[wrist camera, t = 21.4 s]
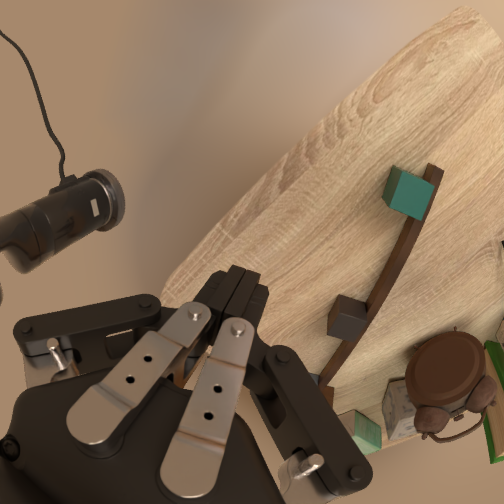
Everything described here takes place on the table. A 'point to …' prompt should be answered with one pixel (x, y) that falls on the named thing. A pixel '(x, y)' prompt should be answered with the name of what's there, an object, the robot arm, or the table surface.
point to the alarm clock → (448, 383)
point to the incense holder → (398, 411)
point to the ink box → (501, 334)
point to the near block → (407, 193)
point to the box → (362, 431)
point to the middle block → (346, 318)
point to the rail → (385, 277)
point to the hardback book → (500, 416)
